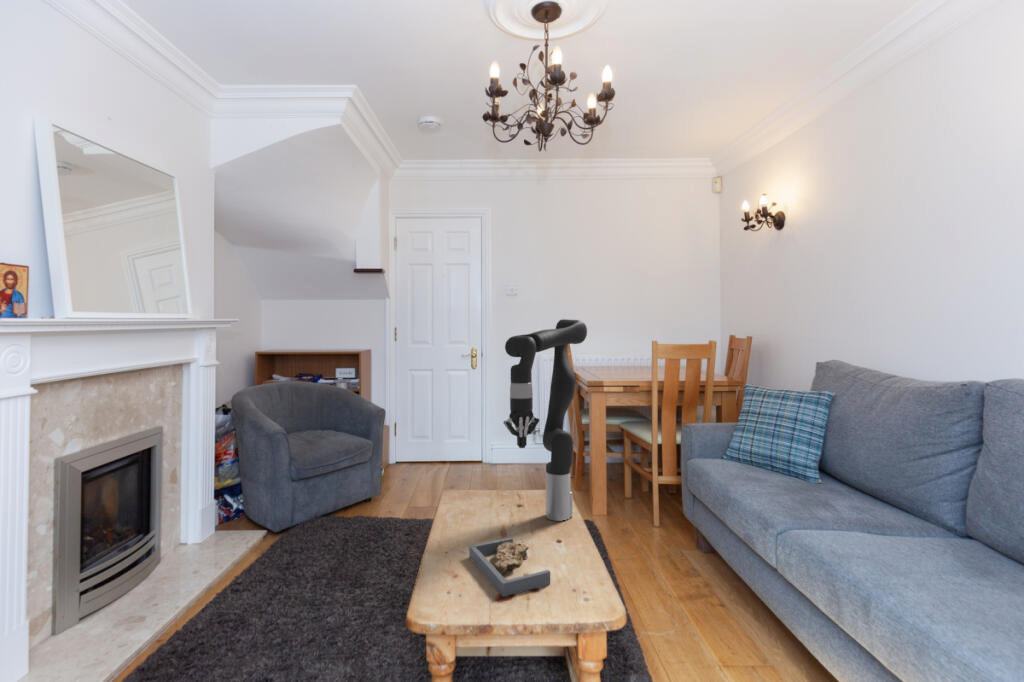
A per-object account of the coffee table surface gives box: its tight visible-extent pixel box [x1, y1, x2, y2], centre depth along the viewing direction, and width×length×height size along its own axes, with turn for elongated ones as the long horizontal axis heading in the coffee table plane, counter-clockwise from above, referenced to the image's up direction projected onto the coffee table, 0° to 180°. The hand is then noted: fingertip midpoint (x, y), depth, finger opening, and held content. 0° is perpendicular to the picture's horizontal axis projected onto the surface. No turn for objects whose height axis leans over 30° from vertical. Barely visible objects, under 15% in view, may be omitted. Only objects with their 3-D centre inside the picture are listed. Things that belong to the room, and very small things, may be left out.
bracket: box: [468, 537, 551, 597], centre depth 141 cm, size 14×25×4 cm, turn 26°
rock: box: [494, 542, 529, 576], centre depth 145 cm, size 17×5×10 cm
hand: (521, 447), depth 161 cm, fingers closed
